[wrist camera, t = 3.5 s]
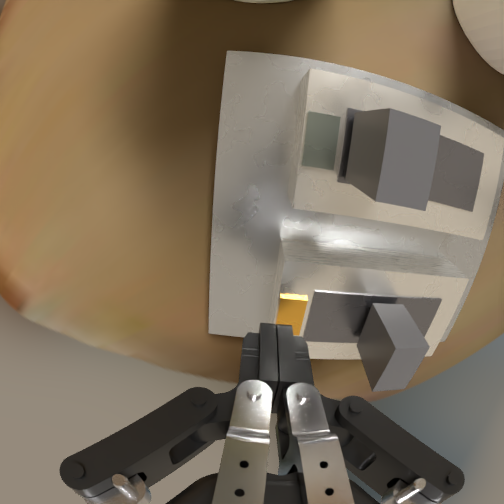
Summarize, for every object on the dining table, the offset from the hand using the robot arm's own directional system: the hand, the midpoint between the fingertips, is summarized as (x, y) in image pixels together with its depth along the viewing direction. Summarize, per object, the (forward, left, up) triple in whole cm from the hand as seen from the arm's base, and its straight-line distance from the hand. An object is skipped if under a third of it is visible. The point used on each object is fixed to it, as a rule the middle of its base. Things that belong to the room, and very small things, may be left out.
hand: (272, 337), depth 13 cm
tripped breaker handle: (-6, 0, -1) cm, 6 cm away
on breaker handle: (-3, -9, -2) cm, 10 cm away
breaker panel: (-6, -4, -6) cm, 10 cm away
